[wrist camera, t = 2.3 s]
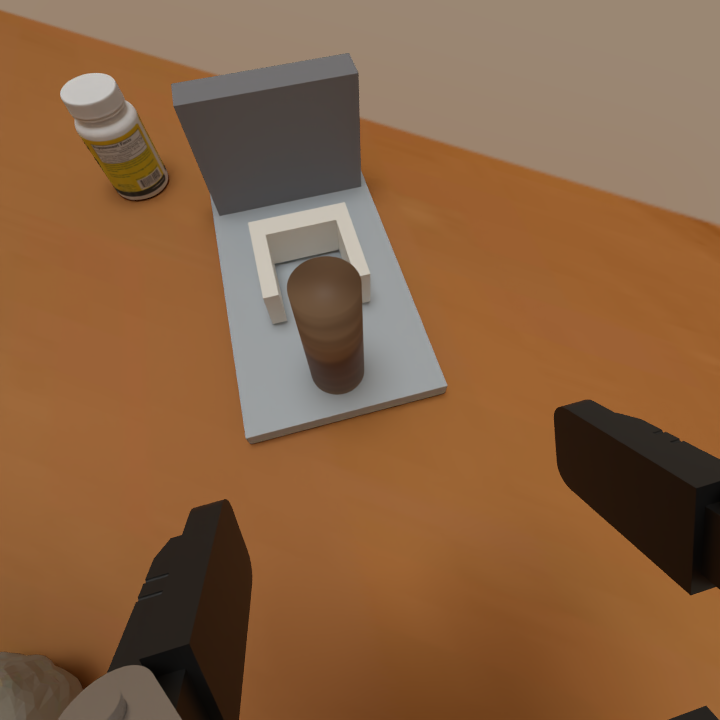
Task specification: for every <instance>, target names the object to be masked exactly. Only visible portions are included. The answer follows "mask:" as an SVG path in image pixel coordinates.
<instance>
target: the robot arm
mask: <svg viewBox="0 0 720 720" xmlns="http://www.w3.org/2000/svg"><path fill="white" fill-rule="evenodd" d="M554 427H555V442H556V456H557V466H558V469H559V472H560V475H561V477H562V479H563V480H564V482H565V483H566V485H567V486H568V487H569V488H570V489H571V490H572V491H573V492H574V493H575V494H577V495H578V496H579V497H580V498H581V499H582V500H583V501H584V502H586V503H587V504H588V505H589V506H590V507H591V508H592V509H593V510H595V511H596V512H597V513H598V514H599V515H600V516H601V517H603V518H604V519H605V520H606V521H607V522H608V523H609V524H610V525H612V526H613V527H614V528H615V529H616V530H617V531H618V532H620V533H621V534H622V535H623V536H624V537H625V538H626V539H627V540H629V541H630V542H631V543H632V544H633V545H634V546H635V547H637V548H638V549H639V550H640V551H641V552H642V553H643V554H644V555H646V556H647V557H648V558H649V559H650V560H651V561H652V562H654V563H655V564H656V565H657V566H658V567H659V568H660V569H661V570H663V571H664V572H665V573H666V574H667V575H668V576H669V577H671V578H672V579H673V580H674V581H675V582H676V583H677V584H678V585H680V586H681V587H682V588H683V589H684V590H685V591H686V592H688V593H689V594H690V595H693V594H696V593H699V592H702V591H705V590H708V589H711V588H714V587H717V588H719V589H720V459H718V458H716V457H714V456H712V455H710V454H708V453H706V452H704V451H702V450H700V449H698V448H696V447H694V446H692V445H691V444H689V443H687V442H685V441H682V442H681V441H680V440H679V438H677V437H675V436H673V435H671V434H669V433H667V432H664V433H663V432H662V430H661V429H659V428H657V427H655V426H653V425H651V424H649V423H647V422H646V421H644V420H642V419H638V418H634V417H630V416H627V415H623V414H619V413H614V412H613V411H611V410H609V409H607V408H605V407H603V406H601V405H599V404H598V403H596V402H594V401H592V400H583V401H580V402H576V403H572V404H569V405H565V406H562V407H558V408H557V409H556V410H555V413H554ZM145 580H146V583H145V584H143V587H142V589H141V591H140V594H139V596H138V602H136V604H135V606H134V609H133V611H132V613H131V616H130V618H129V621H128V623H127V626H126V628H125V630H124V633H123V635H122V638H121V640H120V643H119V645H118V648H117V650H116V652H115V655H114V657H113V660H112V662H111V665H110V667H109V670H108V672H107V674H105V675H103V676H102V677H100V678H99V679H97V680H96V681H94V682H93V683H92V684H90V685H89V686H88V687H86V688H85V689H84V690H83V691H82V692H81V693H80V694H79V695H78V696H77V697H76V698H75V699H74V700H73V701H72V702H71V703H70V704H69V705H68V706H67V708H66V709H65V710H64V711H63V713H62V714H61V716H60V717H59V718H58V720H239V713H240V703H241V693H242V682H243V672H244V662H245V651H246V641H247V631H248V620H249V610H250V600H251V589H252V568H251V562H250V557H249V554H248V551H247V548H246V545H245V542H244V540H243V537H242V534H241V531H240V529H239V526H238V523H237V520H236V517H235V515H234V512H233V509H232V507H231V504H230V503H229V501H228V500H226V499H224V500H221V501H217V502H214V503H210V504H206V505H203V506H199V507H196V508H193V509H192V510H191V511H190V514H189V517H188V519H187V522H186V525H185V528H184V531H183V534H182V535H181V536H177V537H174V538H171V539H170V540H169V541H168V542H167V544H166V545H165V546H164V547H163V548H162V550H161V551H160V552H159V553H158V554H157V556H156V557H155V558H154V560H153V562H152V565H151V567H150V569H149V572H148V574H147V577H146V579H145ZM669 720H719V719H718V718H717V717H716V716H715V715H714V714H713V713H712V712H711V711H710V709H709V708H708V707H707V706H704V707H701V708H699V709H696V710H693V711H691V712H688V713H685V714H682V715H680V716H677V717H674V718H672V719H669Z"/></svg>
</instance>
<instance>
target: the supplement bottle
mask: <svg viewBox="0 0 720 720" xmlns="http://www.w3.org/2000/svg"><path fill="white" fill-rule="evenodd" d="M60 96H61V99H62V101H63V102H64V104H65V105H66V107H67V109H68V111H69V113H70V114H71V115H72V116H73V117H74V119H75V128H76V130H77V132H78V134H79V135H80V137H81V138H82V140H83V141H84V143H85V144H86V146H87V148H88V149H89V150H90V152H91V153H92V155H93V156H94V158H95V160H96V161H97V162H98V164H99V165H100V167H101V168H102V170H103V171H104V173H105V174H106V176H107V177H108V179H109V180H110V182H111V183H112V185H113V186H114V188H115V189H116V191H117V192H118V193H119V194H120V195H121V196H122V197H124V198H127V199H130V200H141V199H146V198H150V197H152V196H155V195H156V194H158V193H159V192H161V191H162V190H163V189H164V187H165V186H166V184H167V182H168V173H167V170H166V168H165V166H164V164H163V162H162V160H161V158H160V156H159V155H158V153H157V151H156V149H155V147H154V145H153V143H152V141H151V139H150V137H149V135H148V133H147V131H146V129H145V127H144V125H143V123H142V121H141V119H140V117H139V115H138V113H137V111H136V110H135V108H134V107H133V106H132V105H131V104H130V103H129V102H127V101H125V99H124V97H123V94H122V93H121V91H120V89H119V87H118V85H117V83H116V81H115V80H114V79H113V78H112V77H111V76H109V75H106V74H102V73H91V74H85V75H81V76H78V77H76V78H74V79H72V80H70V81H69V82H67V83H66V84H65V85H64V86H63V88H62V89H61V92H60Z"/></svg>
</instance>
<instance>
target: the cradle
mask: <svg viewBox="0 0 720 720" xmlns="http://www.w3.org/2000/svg"><path fill="white" fill-rule="evenodd" d="M248 225H249V230H250V235H251V240H252V245H253V251H254V256H255V261H256V266H257V271H258V276H259V281H260V286H261V291H262V296H263V300H264V302H265V305H266V308H267V310H268V313H269V315H270V318H271V320H272V323H273V324H275V323H280V322H284V321H287V318H286V313H285V309H284V304H283V300H282V296H281V291H280V287H279V282H278V278H277V273H276V269H275V264H276V263H281V262H285V261H290V260H294V259H299V258H303V257H308V256H312V255H317V254H321V253H326V252H330V251H335V250H339V251H340V254H341V257H342V259H343V260H345V261H347V262H349V263H350V264H352V265H353V266H354V267H355V268H356V270H357V271H358V273H359V275H360V277H361V282H362V303H364V302H369V301H370V271H369V268H368V266H367V263H366V260H365V257H364V254H363V252H362V249H361V246H360V243H359V240H358V238H357V235H356V232H355V229H354V226H353V224H352V221H351V218H350V215H349V212H348V210H347V207H346V204H345V202H343V203H338V204H333V205H329V206H324V207H319V208H314V209H310V210H305V211H300V212H295V213H291V214H286V215H281V216H276V217H272V218H267V219H262V220H257V221H253V222H248Z"/></svg>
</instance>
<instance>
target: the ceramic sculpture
mask: <svg viewBox="0 0 720 720" xmlns="http://www.w3.org/2000/svg"><path fill="white" fill-rule="evenodd" d="M82 691H83V688H82V686H81V684H80V682H79V680H78V679H77V678H76V677H75V676H74V675H72V674H71V673H69V672H68V671H66V670H64V669H62V668H60V667H57V666H55V665H54V664H53V662H52V661H51V660H50V659H49V658H47V657H46V656H43V655H28V656H26V655H22V654H18V653H8V652H0V720H58V718H59V717H60V716H61V714H62V713H63V711H64V710H65V709H66V708H67V706H68V705H69V704H70V703H71V702H72V701H73V700H74V699H75V698H76V697H77V696H78V695H79V694H80V693H81V692H82Z"/></svg>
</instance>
